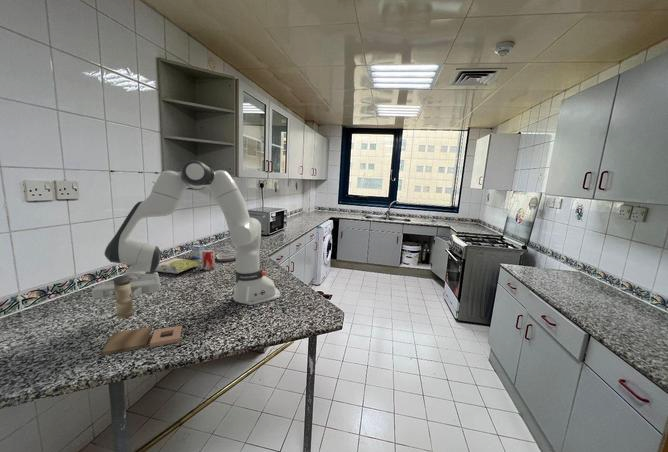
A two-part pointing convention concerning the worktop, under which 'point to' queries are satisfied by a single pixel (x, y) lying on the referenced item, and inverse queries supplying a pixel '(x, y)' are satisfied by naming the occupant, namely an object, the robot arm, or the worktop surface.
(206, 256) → the soda can
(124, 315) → the beech tool handle
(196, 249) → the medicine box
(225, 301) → the worktop surface
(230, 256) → the brain slice
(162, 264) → the frozen beans
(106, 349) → the walnut board
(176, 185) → the robot arm
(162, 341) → the frame
